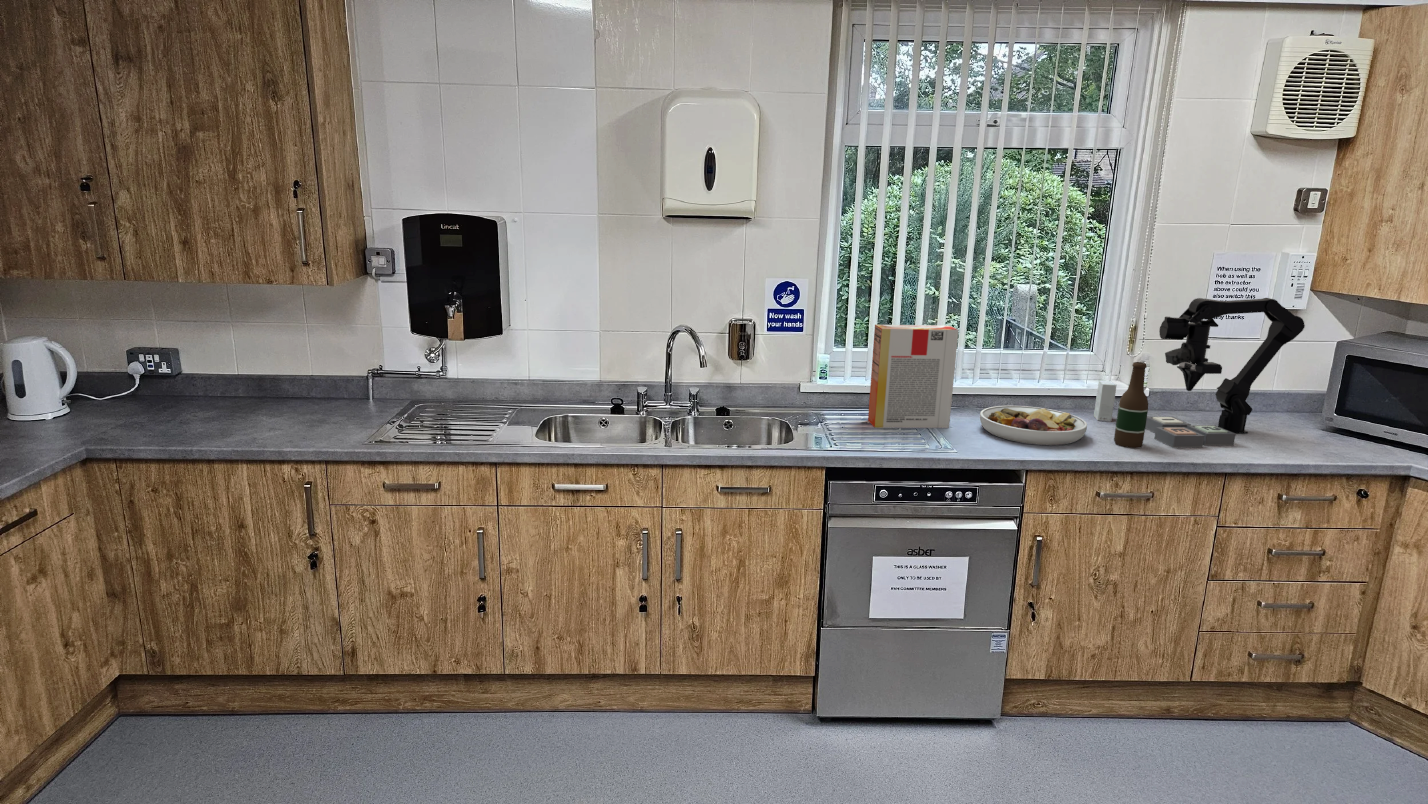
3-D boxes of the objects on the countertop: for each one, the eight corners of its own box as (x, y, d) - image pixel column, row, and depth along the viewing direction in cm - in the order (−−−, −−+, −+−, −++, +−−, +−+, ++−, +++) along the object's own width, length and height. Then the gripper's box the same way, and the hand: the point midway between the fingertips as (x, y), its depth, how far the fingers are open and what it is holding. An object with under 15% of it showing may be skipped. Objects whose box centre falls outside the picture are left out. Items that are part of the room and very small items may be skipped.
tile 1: (1170, 424, 263) (1171, 416, 263) (1182, 429, 258) (1183, 421, 257) (1151, 424, 263) (1152, 416, 262) (1163, 430, 257) (1164, 421, 256)
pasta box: (940, 420, 266) (949, 325, 259) (948, 427, 259) (958, 329, 251) (867, 420, 265) (874, 324, 257) (874, 427, 257) (882, 328, 250)
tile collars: (1192, 427, 266) (1193, 416, 265) (1238, 447, 246) (1240, 435, 245) (1131, 427, 264) (1132, 416, 263) (1172, 447, 244) (1174, 435, 243)
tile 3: (1182, 435, 251) (1183, 427, 251) (1195, 441, 246) (1196, 432, 245) (1162, 435, 251) (1164, 427, 250) (1175, 441, 245) (1176, 432, 244)
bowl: (974, 417, 273) (977, 393, 271) (1074, 425, 267) (1077, 400, 265) (983, 443, 244) (986, 417, 242) (1094, 452, 238) (1098, 425, 236)
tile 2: (1212, 433, 254) (1214, 425, 254) (1226, 439, 249) (1227, 430, 248) (1193, 433, 254) (1195, 425, 253) (1206, 439, 248) (1208, 430, 247)
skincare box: (1111, 421, 271) (1117, 385, 268) (1097, 420, 271) (1102, 384, 268) (1107, 417, 276) (1112, 381, 273) (1093, 416, 277) (1098, 380, 274)
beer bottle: (1107, 440, 249) (1119, 360, 244) (1133, 440, 250) (1145, 360, 244) (1122, 448, 242) (1134, 365, 236) (1148, 448, 243) (1161, 365, 237)
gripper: (1153, 335, 267) (1146, 383, 270) (1191, 345, 249) (1183, 397, 252) (1187, 335, 268) (1179, 384, 272) (1227, 346, 250) (1218, 398, 254)
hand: (1188, 390), depth 262 cm, fingers closed
